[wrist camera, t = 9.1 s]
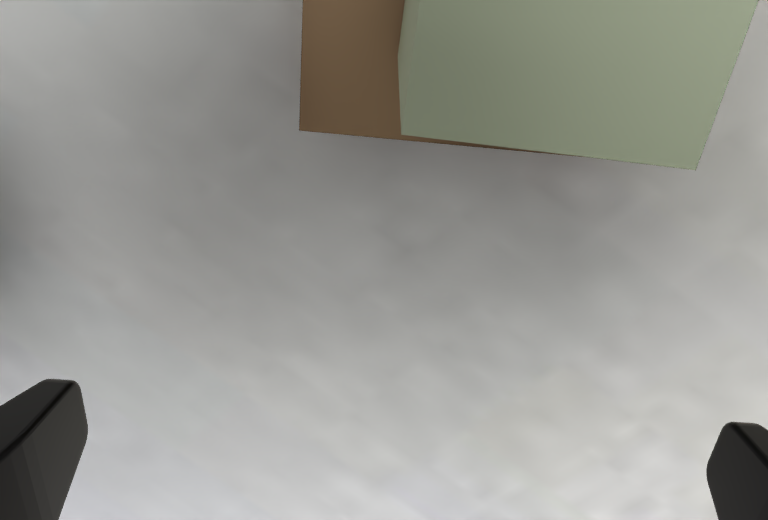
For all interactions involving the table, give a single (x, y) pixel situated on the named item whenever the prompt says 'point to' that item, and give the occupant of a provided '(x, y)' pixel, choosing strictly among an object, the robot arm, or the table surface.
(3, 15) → the table surface
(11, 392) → the table surface
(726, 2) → the sage cube
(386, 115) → the walnut block
